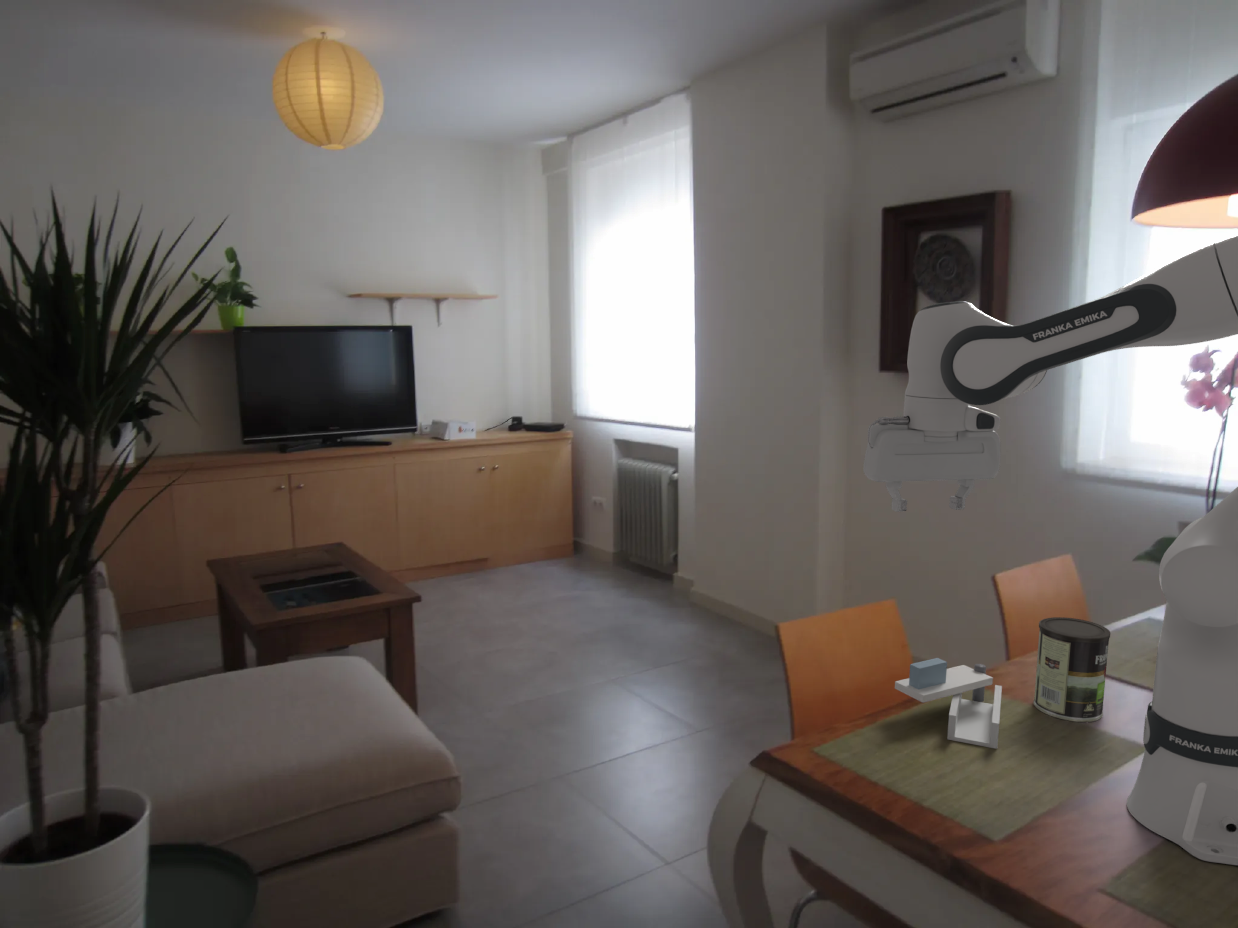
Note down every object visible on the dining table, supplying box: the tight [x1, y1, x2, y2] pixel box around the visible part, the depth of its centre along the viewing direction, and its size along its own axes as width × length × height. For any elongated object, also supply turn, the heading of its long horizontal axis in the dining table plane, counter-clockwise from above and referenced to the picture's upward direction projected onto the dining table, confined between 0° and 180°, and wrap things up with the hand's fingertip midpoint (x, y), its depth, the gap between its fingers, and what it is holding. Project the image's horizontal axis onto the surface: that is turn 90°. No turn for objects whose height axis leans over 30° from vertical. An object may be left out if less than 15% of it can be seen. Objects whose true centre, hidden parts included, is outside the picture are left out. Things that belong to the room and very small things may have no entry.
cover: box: [894, 657, 994, 703], centre depth 139 cm, size 6×17×9 cm, turn 117°
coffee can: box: [1033, 617, 1111, 723], centre depth 140 cm, size 10×10×14 cm
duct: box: [947, 684, 1003, 750], centre depth 135 cm, size 7×15×4 cm, turn 155°
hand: (928, 509), depth 125 cm, fingers open, 8 cm apart
